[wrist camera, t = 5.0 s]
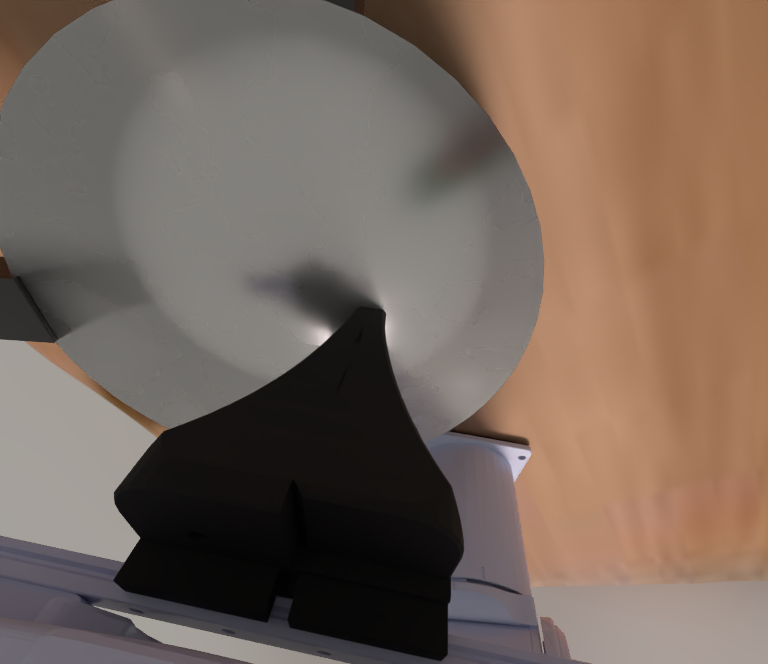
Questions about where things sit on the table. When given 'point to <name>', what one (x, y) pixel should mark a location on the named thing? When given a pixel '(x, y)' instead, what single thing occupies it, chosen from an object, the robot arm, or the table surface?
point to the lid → (259, 207)
